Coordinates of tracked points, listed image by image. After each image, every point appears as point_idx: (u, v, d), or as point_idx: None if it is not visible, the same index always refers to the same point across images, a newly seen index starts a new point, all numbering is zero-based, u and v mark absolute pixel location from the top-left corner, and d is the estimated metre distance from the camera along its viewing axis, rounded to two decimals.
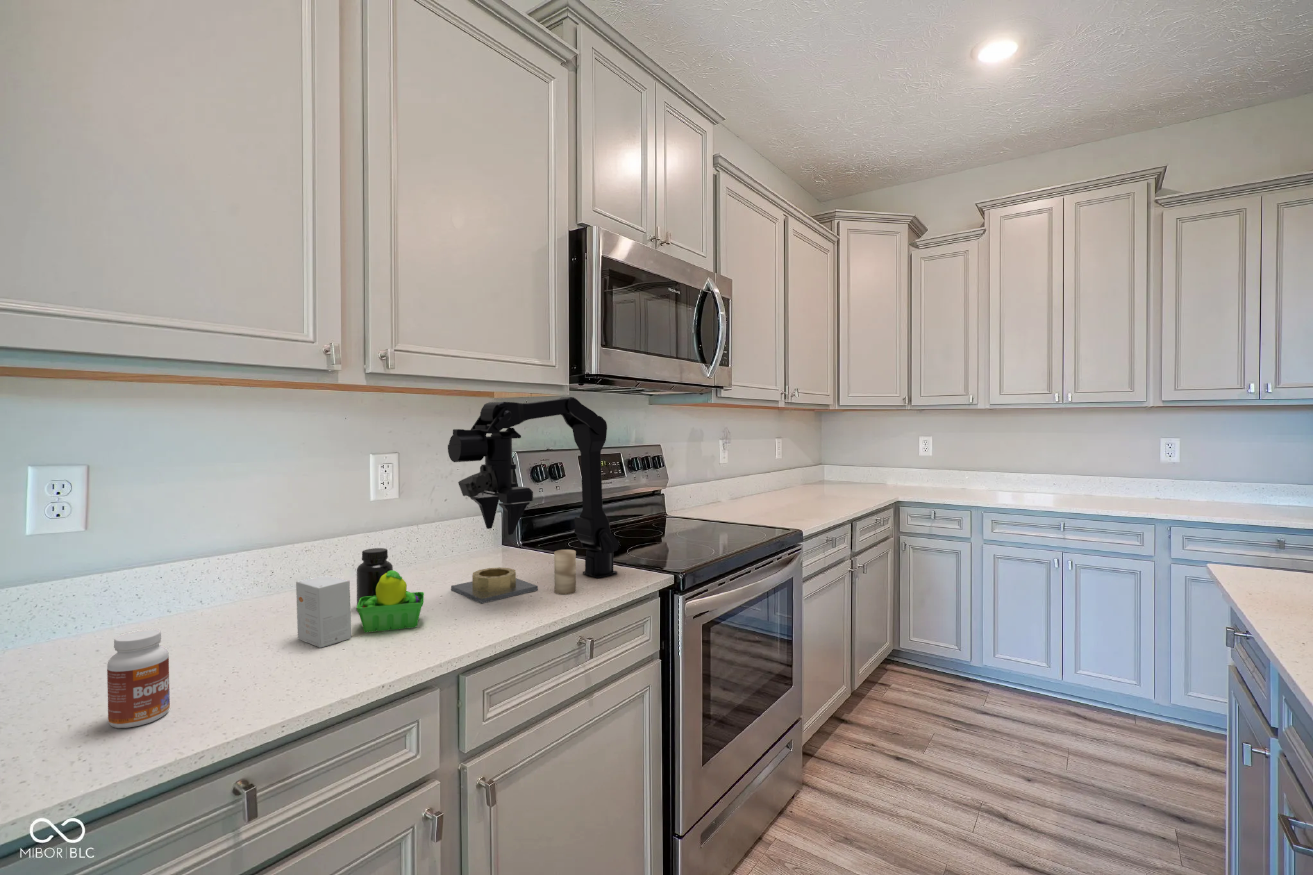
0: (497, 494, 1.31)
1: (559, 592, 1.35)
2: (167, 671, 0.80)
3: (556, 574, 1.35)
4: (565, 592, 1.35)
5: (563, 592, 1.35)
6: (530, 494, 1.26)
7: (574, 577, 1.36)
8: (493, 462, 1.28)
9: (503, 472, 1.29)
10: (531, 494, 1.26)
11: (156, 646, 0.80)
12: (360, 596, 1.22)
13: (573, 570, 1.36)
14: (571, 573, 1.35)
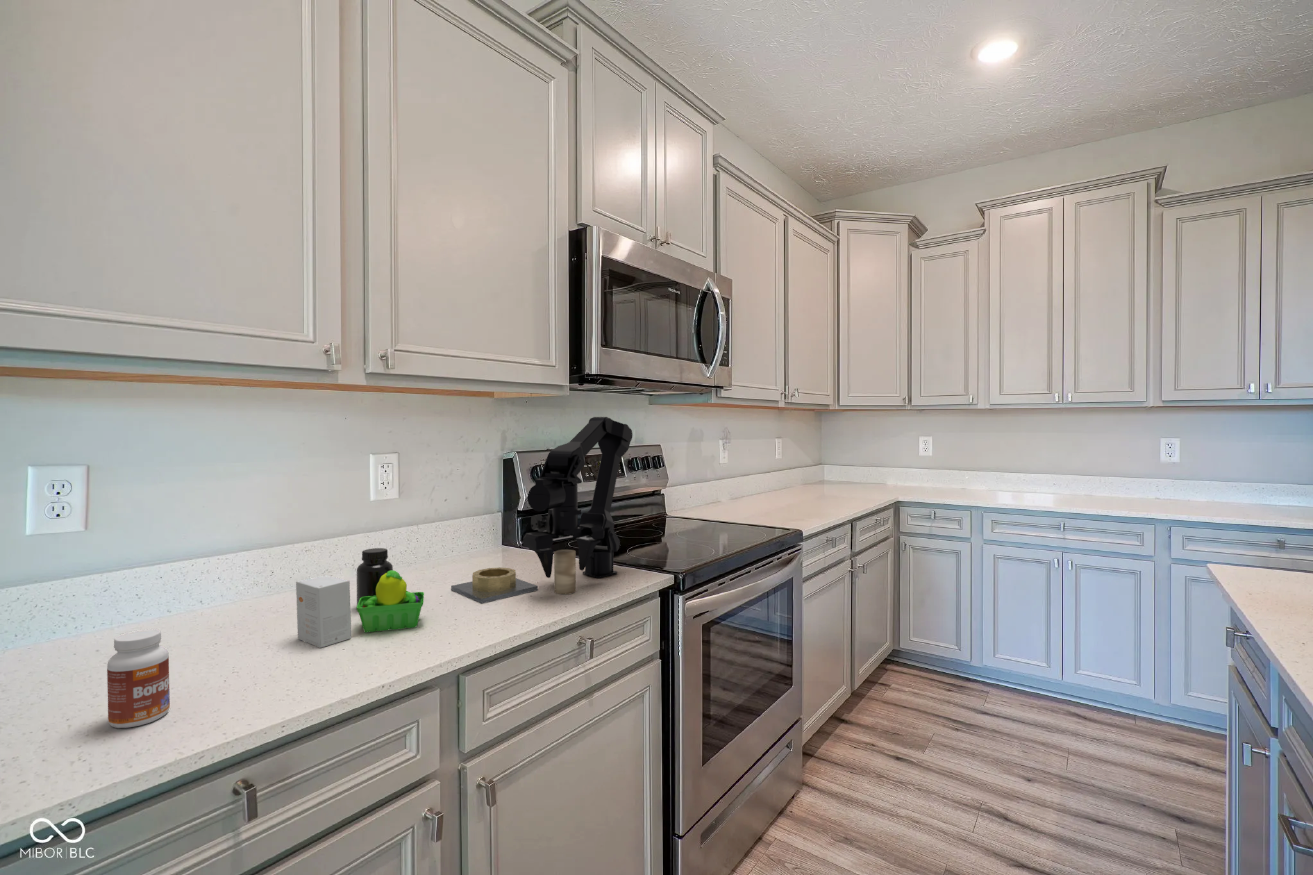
0: None
1: (559, 592, 1.35)
2: (167, 671, 0.80)
3: (556, 574, 1.35)
4: (565, 592, 1.35)
5: (563, 592, 1.35)
6: (535, 543, 1.29)
7: (574, 577, 1.36)
8: None
9: (553, 517, 1.35)
10: (536, 543, 1.28)
11: (156, 646, 0.80)
12: (360, 596, 1.22)
13: (573, 570, 1.36)
14: (571, 573, 1.35)
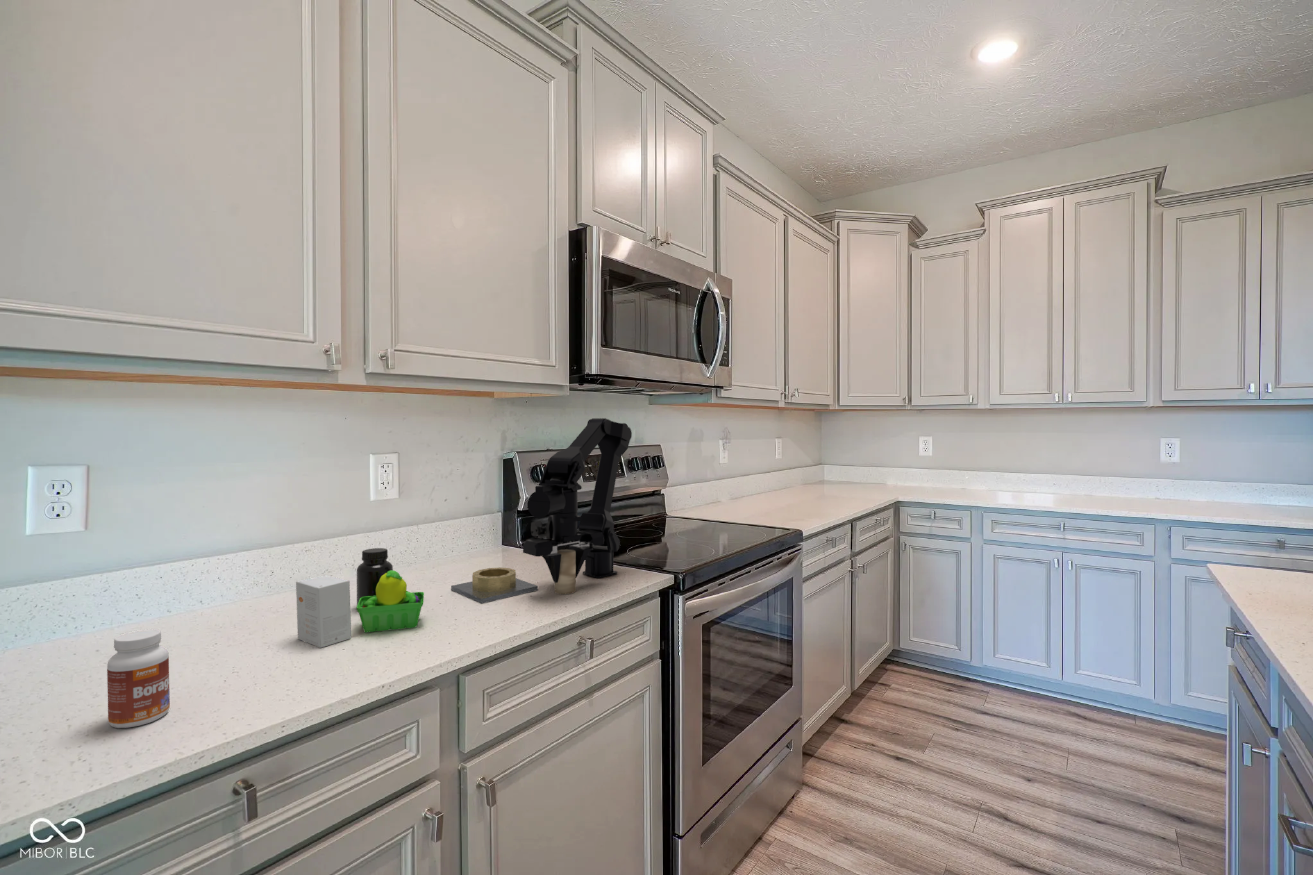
0: None
1: (559, 592, 1.35)
2: (167, 671, 0.80)
3: None
4: (565, 592, 1.35)
5: (563, 592, 1.35)
6: (535, 550, 1.29)
7: (574, 577, 1.36)
8: None
9: (553, 523, 1.35)
10: (535, 549, 1.28)
11: (156, 646, 0.80)
12: (360, 596, 1.22)
13: (573, 570, 1.36)
14: (571, 573, 1.35)
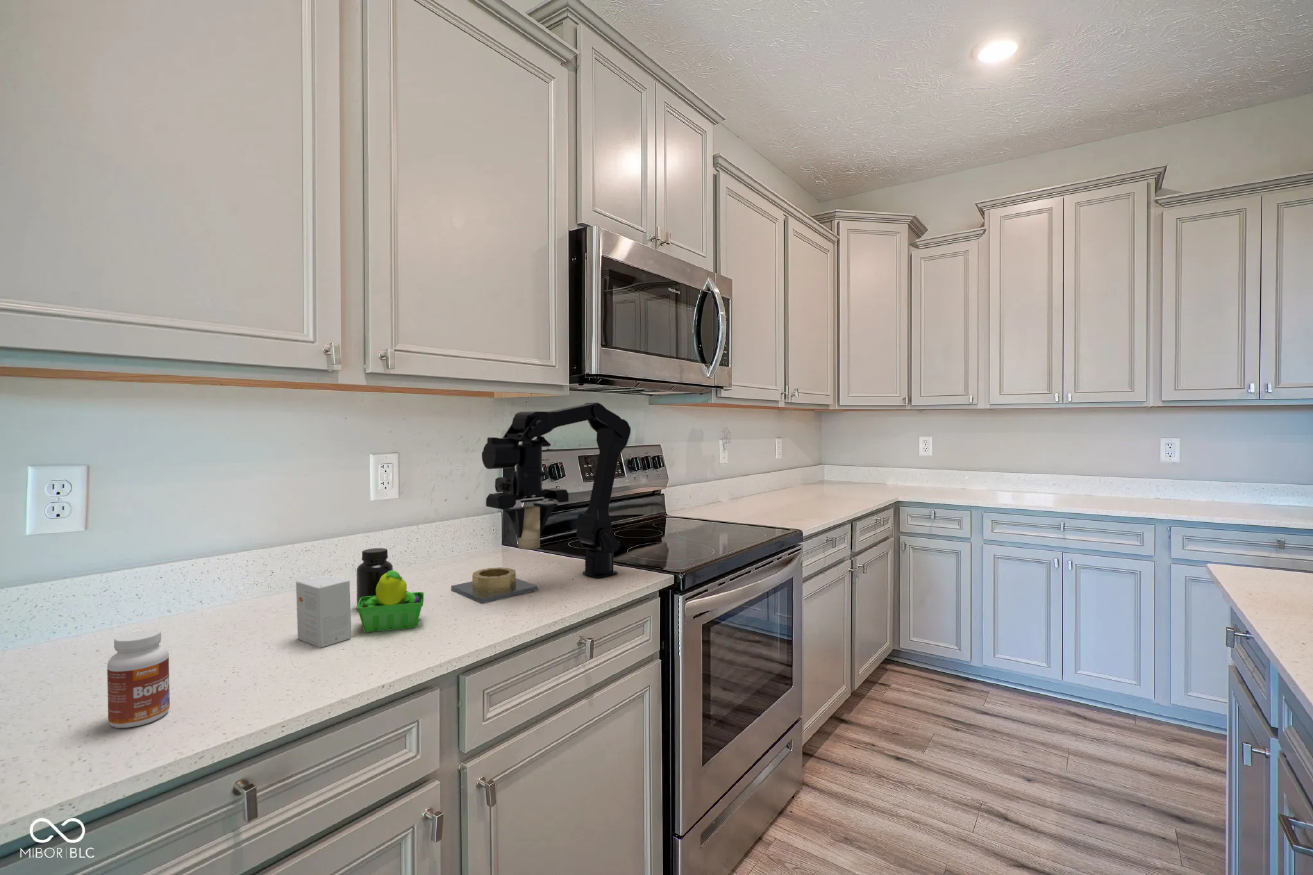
0: None
1: (523, 547, 1.34)
2: (167, 671, 0.80)
3: None
4: (529, 547, 1.34)
5: (527, 547, 1.34)
6: (497, 502, 1.28)
7: (538, 532, 1.36)
8: None
9: (517, 478, 1.35)
10: (498, 502, 1.28)
11: (156, 646, 0.80)
12: (360, 596, 1.22)
13: (537, 525, 1.35)
14: (535, 528, 1.35)
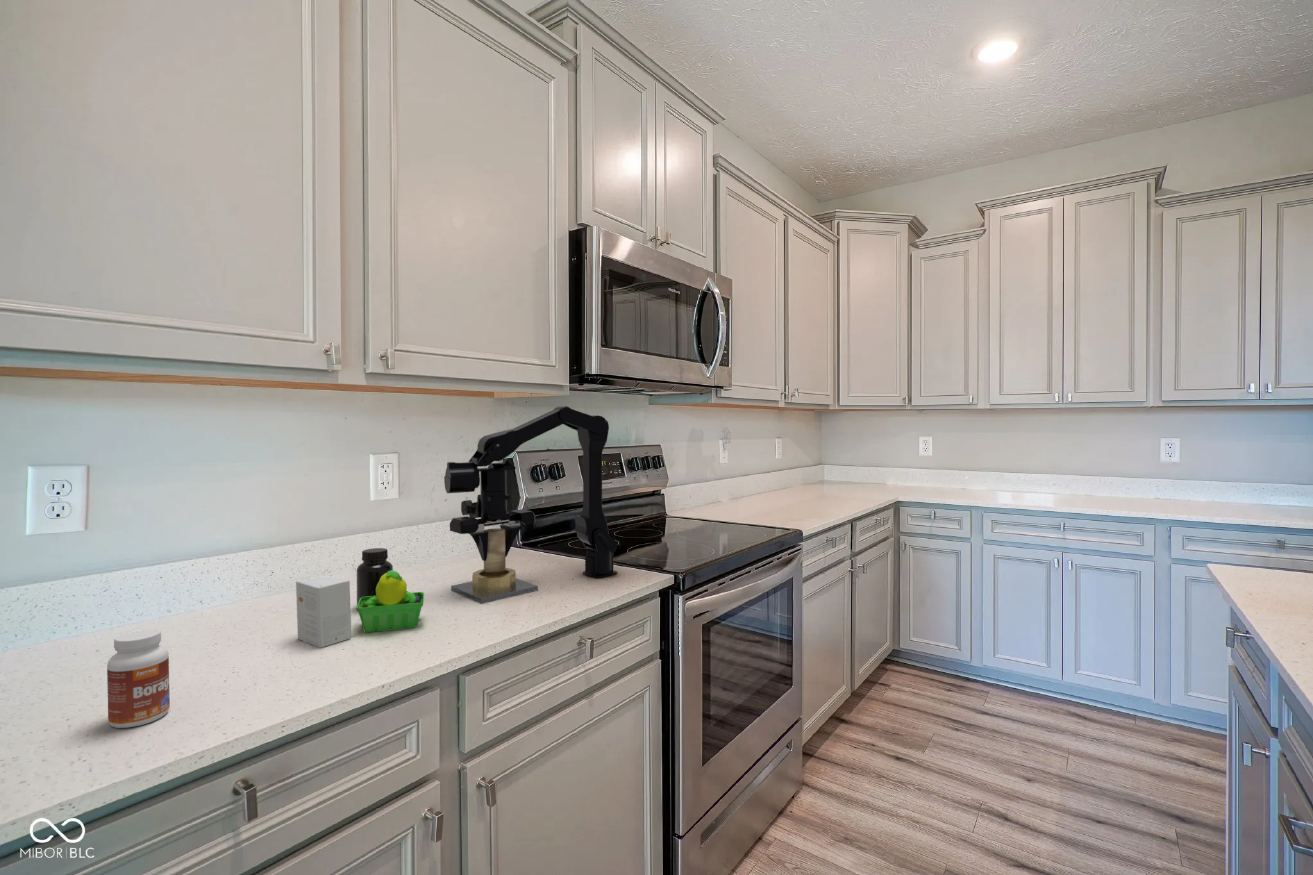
0: None
1: (487, 570, 1.36)
2: (167, 671, 0.80)
3: None
4: (493, 570, 1.35)
5: (491, 570, 1.35)
6: (459, 527, 1.29)
7: (503, 555, 1.37)
8: None
9: (481, 502, 1.36)
10: (460, 527, 1.29)
11: (156, 646, 0.80)
12: (360, 596, 1.22)
13: (502, 548, 1.36)
14: (500, 551, 1.36)
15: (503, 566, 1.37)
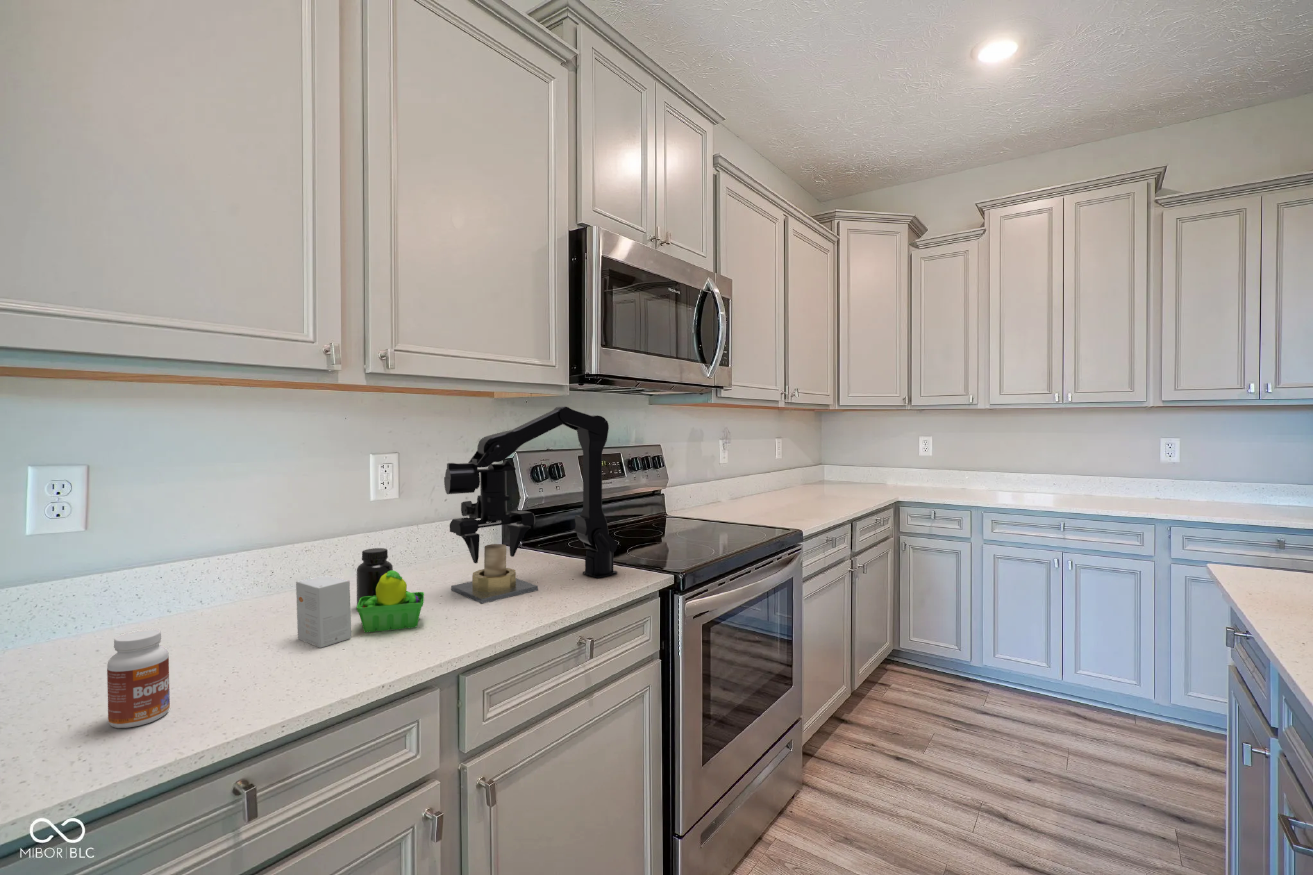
0: None
1: None
2: (167, 671, 0.80)
3: (485, 568, 1.36)
4: None
5: None
6: (459, 528, 1.29)
7: (504, 572, 1.37)
8: None
9: (481, 503, 1.36)
10: (460, 528, 1.29)
11: (156, 646, 0.80)
12: (360, 596, 1.22)
13: (502, 565, 1.36)
14: (500, 568, 1.36)
15: None
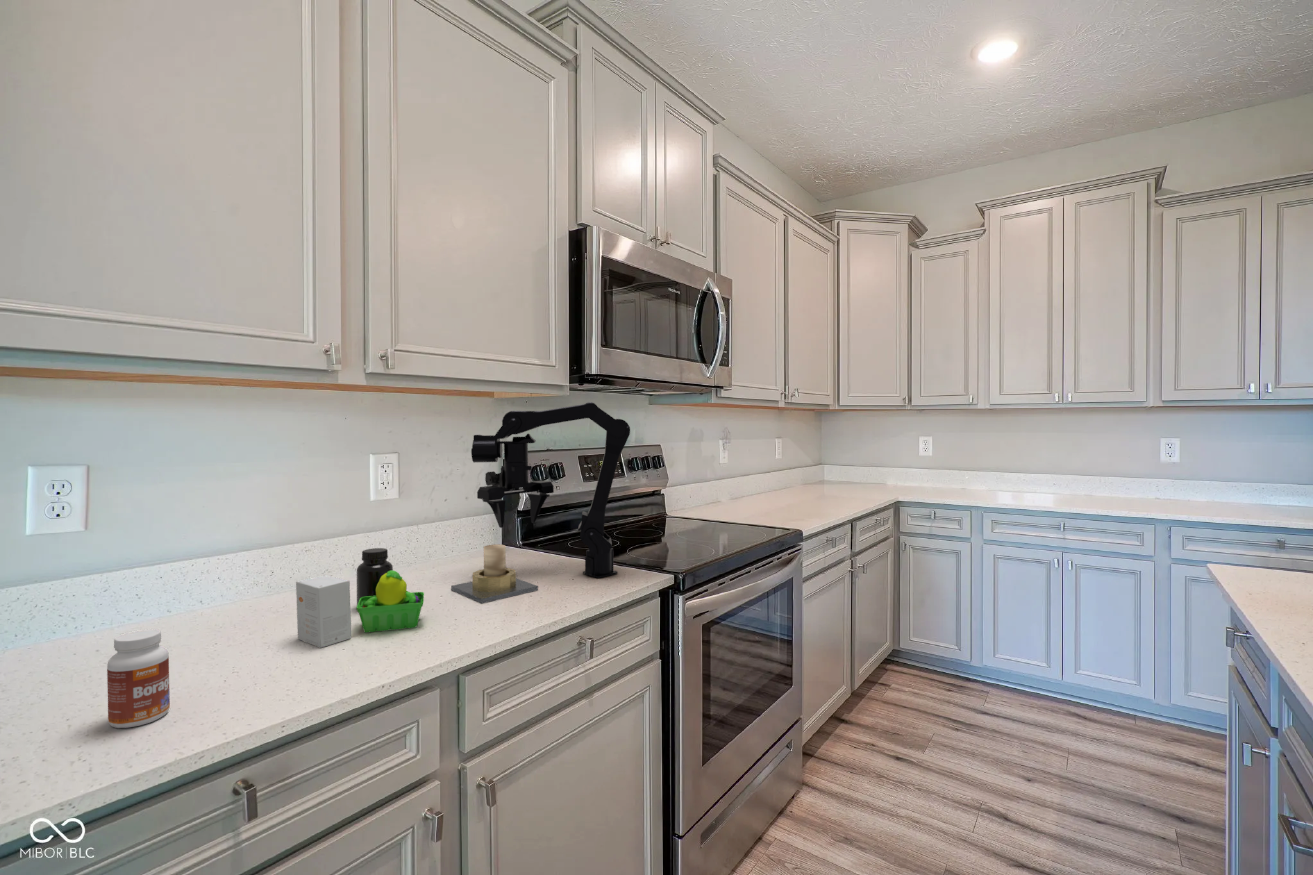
0: None
1: None
2: (167, 671, 0.80)
3: (485, 568, 1.36)
4: None
5: None
6: (487, 494, 1.41)
7: (503, 572, 1.37)
8: None
9: (505, 472, 1.47)
10: (488, 494, 1.41)
11: (156, 646, 0.80)
12: (360, 596, 1.22)
13: (502, 565, 1.36)
14: (500, 567, 1.36)
15: None
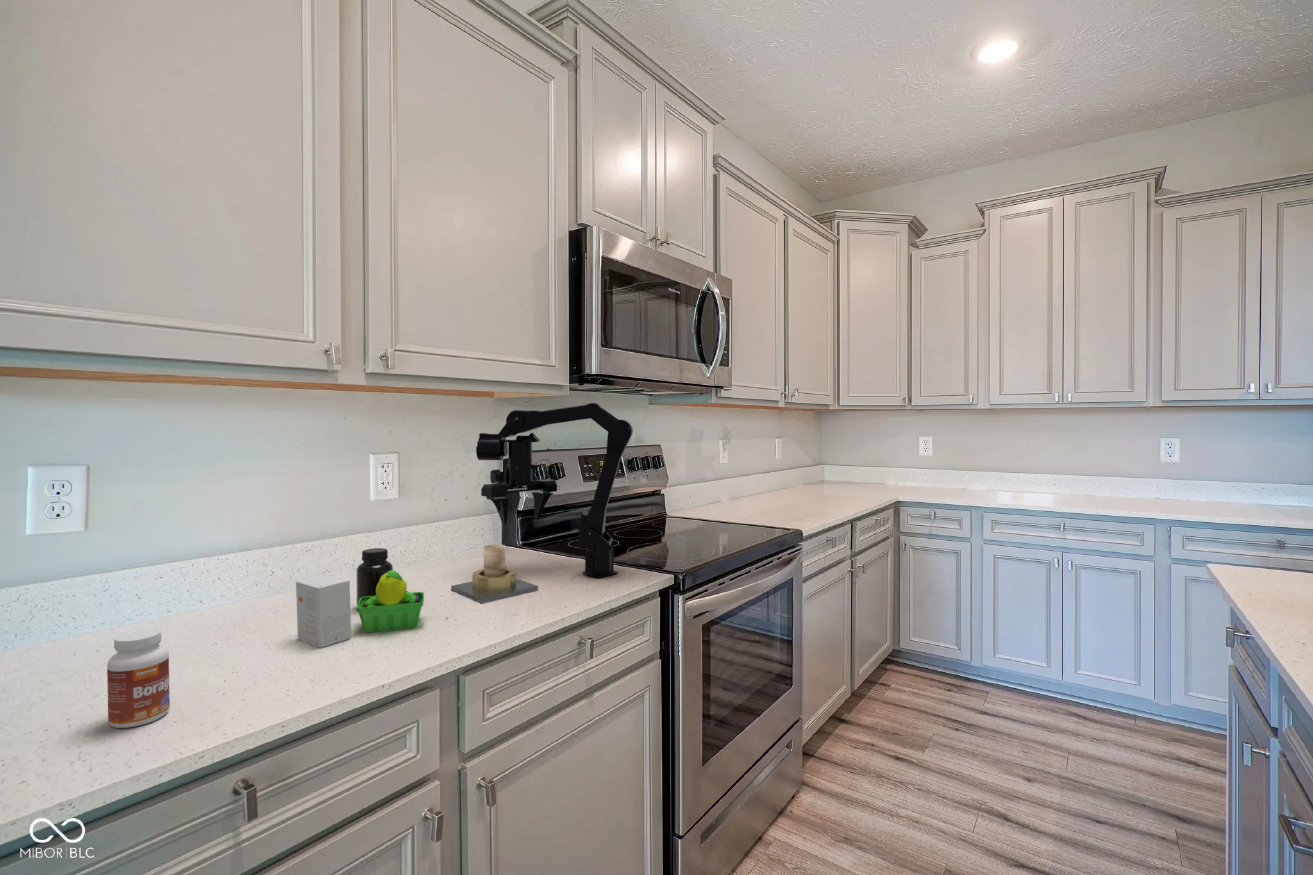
0: None
1: None
2: (167, 671, 0.80)
3: (485, 568, 1.36)
4: None
5: None
6: (491, 492, 1.43)
7: (503, 572, 1.37)
8: None
9: (509, 470, 1.50)
10: (491, 491, 1.43)
11: (156, 646, 0.80)
12: (360, 596, 1.22)
13: (502, 565, 1.36)
14: (500, 567, 1.36)
15: None
